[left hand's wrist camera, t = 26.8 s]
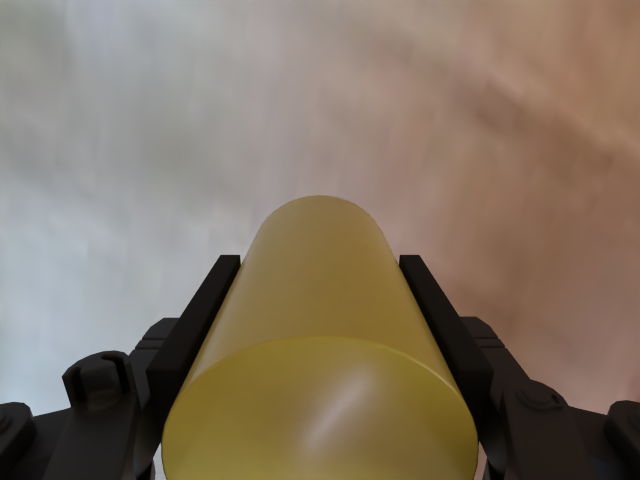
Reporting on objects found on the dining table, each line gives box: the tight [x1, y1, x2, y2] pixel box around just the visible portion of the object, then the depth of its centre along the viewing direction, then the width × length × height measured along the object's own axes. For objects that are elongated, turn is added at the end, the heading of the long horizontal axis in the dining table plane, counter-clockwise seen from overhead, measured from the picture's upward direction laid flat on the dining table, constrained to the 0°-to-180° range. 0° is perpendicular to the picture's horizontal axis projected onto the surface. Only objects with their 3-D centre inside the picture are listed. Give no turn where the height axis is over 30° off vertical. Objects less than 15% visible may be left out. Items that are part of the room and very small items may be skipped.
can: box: [161, 195, 479, 480], centre depth 12 cm, size 6×6×10 cm
